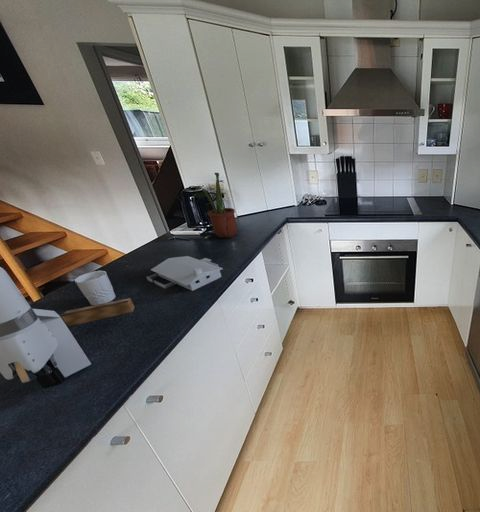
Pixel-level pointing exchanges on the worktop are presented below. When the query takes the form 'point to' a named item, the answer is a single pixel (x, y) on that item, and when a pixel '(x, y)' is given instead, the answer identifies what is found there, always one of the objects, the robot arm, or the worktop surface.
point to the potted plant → (220, 213)
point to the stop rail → (98, 312)
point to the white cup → (96, 287)
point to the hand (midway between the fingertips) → (54, 383)
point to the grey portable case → (186, 272)
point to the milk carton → (63, 344)
